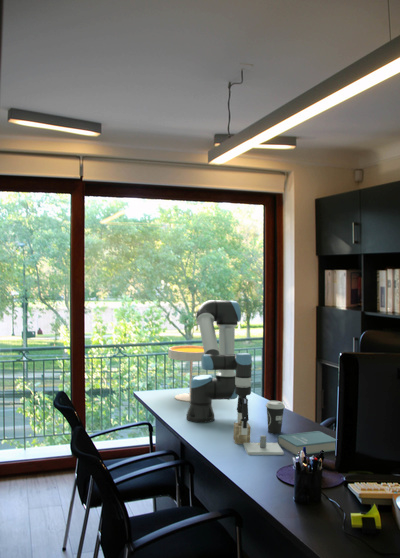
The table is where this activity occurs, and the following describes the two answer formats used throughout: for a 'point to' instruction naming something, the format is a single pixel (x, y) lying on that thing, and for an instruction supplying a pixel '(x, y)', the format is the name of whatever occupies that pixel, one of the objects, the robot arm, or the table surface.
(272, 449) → the plate
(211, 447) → the table surface
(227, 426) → the table surface
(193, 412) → the robot arm
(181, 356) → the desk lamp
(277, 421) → the coffee cup
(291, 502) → the table surface
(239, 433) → the wooden cubby shelf
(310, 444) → the book
